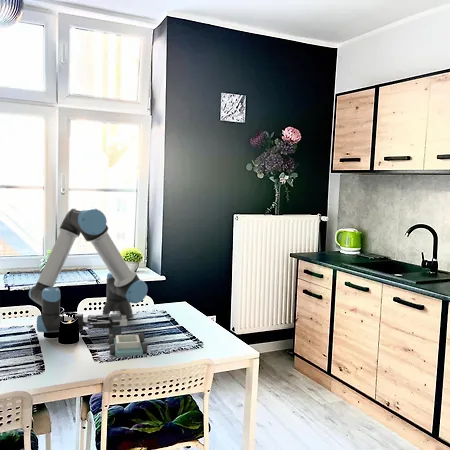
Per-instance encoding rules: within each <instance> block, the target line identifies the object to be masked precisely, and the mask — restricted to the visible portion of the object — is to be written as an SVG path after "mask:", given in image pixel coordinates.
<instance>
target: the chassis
mask: <svg viewBox="0 0 450 450" xmlns="http://www.w3.org/2000/svg"><path fill="white" fill-rule="evenodd" d="M108 345H109V355H114V356H115V357H129V356H143V355H144V353H148V347H149V346H148V342H145V332H139V333H138V334H121V335H116V336H114V334H109V333H108Z"/></svg>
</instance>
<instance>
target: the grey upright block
mask: <svg viewBox="0 0 450 450" xmlns="http://www.w3.org/2000/svg"><path fill="white" fill-rule="evenodd" d="M113 320H122V315H121V313H120V311H110V313H109V321H112V322H113ZM107 329H108V331H107V332H108V335H109V334H114V337H116V335H122V326H112V328H107Z"/></svg>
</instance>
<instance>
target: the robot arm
mask: <svg viewBox="0 0 450 450" xmlns="http://www.w3.org/2000/svg"><path fill="white" fill-rule="evenodd" d="M107 223H108V222H107V217H106V215H105V214H104V213H103V212H102V210H100V209H99V208H95V207H90V206H89V207H88V206H84V205H77V206H75V207H73V208H71V209H70V210H69V211H68V212H67V213H66V215H65V217H64V218H63V220H62V222H61V225H60V226H59V234H58V235H57V238H56V240H55V243H54V244H53V247H52V249H51V252H50V253H49V255H48V257H47V259H46V262H45V264H44V267H43V269H42V271H41V273H40V275H39V278H38V279H37V282H36V284H35V285H33V286H31V288H29V291H28V296H29V298H30V299H31V300H32V301H33V302H34V303H36V304H37V305H39V306H41V314H39V315H38V316H37V317H36V330H37V332H39V333H59V327H60V322H61V321H63V316H64V321H70V320H71V321H72V320H76V319H77V318H78V324H79V331H78V332H82V331H83V330H84V328H87V329H88V330H96V329H98V330H99V329H100V330H101V329H108V328H112V326H121V327H125V326H126V327H127V326H128V318H129V319H130V318H131V317H132V316H133V309H132V305H131V303H132V304H138V303H140V302H142V301H143V300H145V298H146V297H147V293H148V285H147V283H146V282H145V281H144V280H142V279H140V277H139V276H138V274H137V272H136V271H135V270H132V269H130V267H129V266H128V264H127V263H126V261H125V260H124V257H123V256H122V254H121V252H120V251H119V249H118V248H117V246H116V244H115V242H114V241H113V240H112V238H111V237H110V235H109V232H108V231H109V227H108V225H107ZM80 235H82V237H83V238H84V240H85V242H90V243H91V244H92V246H93V248H94V249H95V250H96V253H97V254H98V255H99V257H100V258H101V260H102V261H103V263H104V265H105V267H106V268H107V269H108V271H109V272H108V273H107V275H106V301H105V304H104V307H103V309H102V314H95V315H94V314H89V315H88V316H86V317H84V314H83V313H75V314H73V315H75V319H74V318H73V315H72V317H68V315H66V314H67V313H66V314H65V313H64V314H61V290H60V288H59V287H55V284H56V282H57V280H58V278H59V276H60V273H61V271H62V269H63V267H64V265H65V263H66V260H67V258H68V256H69V254H70V251H71V249H72V248H73V245H74V243H75V240H76V239H77V238H79V237H80ZM110 311H120V313H121V315H122V320H113V322H112V321H109V313H110Z"/></svg>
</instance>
